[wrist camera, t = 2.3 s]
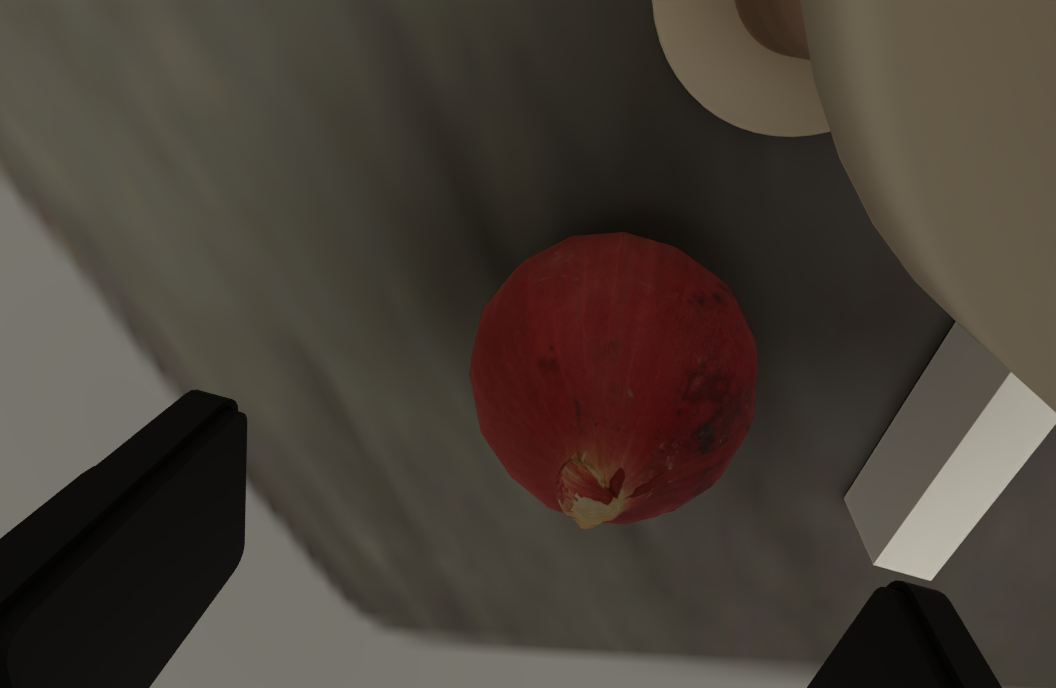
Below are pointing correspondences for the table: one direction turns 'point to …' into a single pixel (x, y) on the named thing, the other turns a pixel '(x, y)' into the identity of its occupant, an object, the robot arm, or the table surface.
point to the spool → (911, 136)
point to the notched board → (945, 457)
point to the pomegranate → (613, 377)
